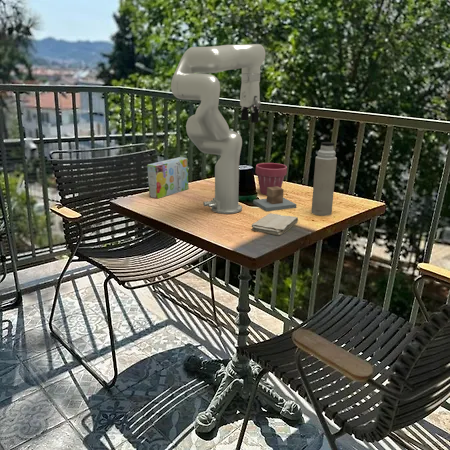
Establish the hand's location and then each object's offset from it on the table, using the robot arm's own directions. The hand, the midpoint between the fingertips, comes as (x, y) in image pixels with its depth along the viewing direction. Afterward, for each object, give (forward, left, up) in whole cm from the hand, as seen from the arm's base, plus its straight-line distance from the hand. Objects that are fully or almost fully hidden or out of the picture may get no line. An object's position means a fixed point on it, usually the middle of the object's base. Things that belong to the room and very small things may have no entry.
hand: (249, 121), depth 183 cm
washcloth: (-7, -39, -34) cm, 52 cm away
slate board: (+5, -16, -33) cm, 37 cm away
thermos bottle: (+18, -31, -34) cm, 49 cm away
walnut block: (+5, -16, -32) cm, 36 cm away
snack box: (-31, +19, -34) cm, 49 cm away
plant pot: (+13, +3, -34) cm, 36 cm away
